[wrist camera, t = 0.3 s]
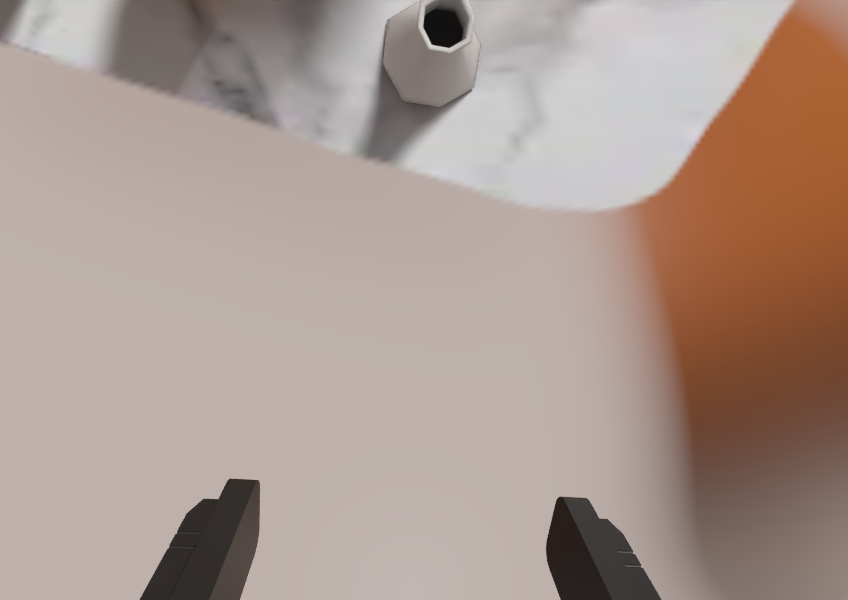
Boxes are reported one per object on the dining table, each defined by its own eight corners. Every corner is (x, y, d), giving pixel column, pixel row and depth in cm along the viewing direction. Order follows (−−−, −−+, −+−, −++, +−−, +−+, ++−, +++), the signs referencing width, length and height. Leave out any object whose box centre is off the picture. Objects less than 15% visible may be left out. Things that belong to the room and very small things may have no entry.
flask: (392, 116, 37) (393, 106, 27) (372, 9, 35) (364, -43, 25) (487, 98, 37) (520, 81, 27) (472, -10, 35) (503, -70, 25)
